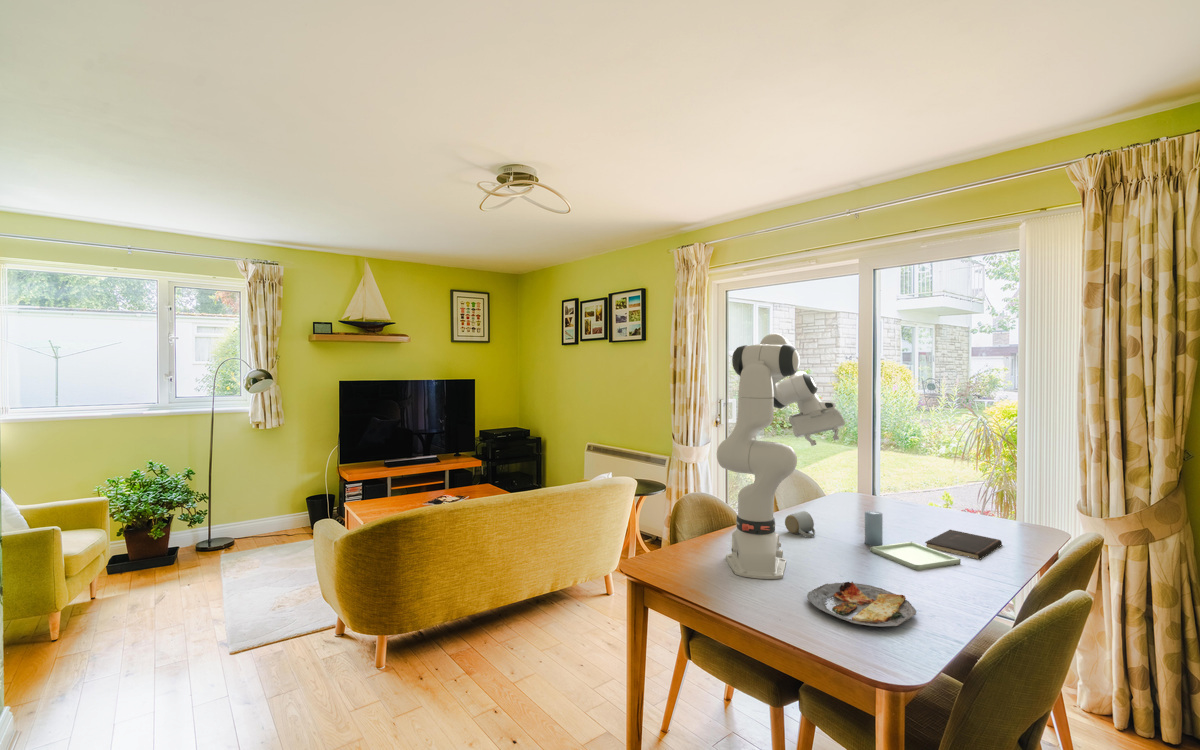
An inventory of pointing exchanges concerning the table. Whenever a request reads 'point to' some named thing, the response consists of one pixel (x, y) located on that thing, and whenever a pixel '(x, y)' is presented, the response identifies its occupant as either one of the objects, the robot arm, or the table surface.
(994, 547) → the hardcover book
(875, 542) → the grey cylinder
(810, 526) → the ceramic mug
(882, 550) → the tray
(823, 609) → the food plate
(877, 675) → the table surface
